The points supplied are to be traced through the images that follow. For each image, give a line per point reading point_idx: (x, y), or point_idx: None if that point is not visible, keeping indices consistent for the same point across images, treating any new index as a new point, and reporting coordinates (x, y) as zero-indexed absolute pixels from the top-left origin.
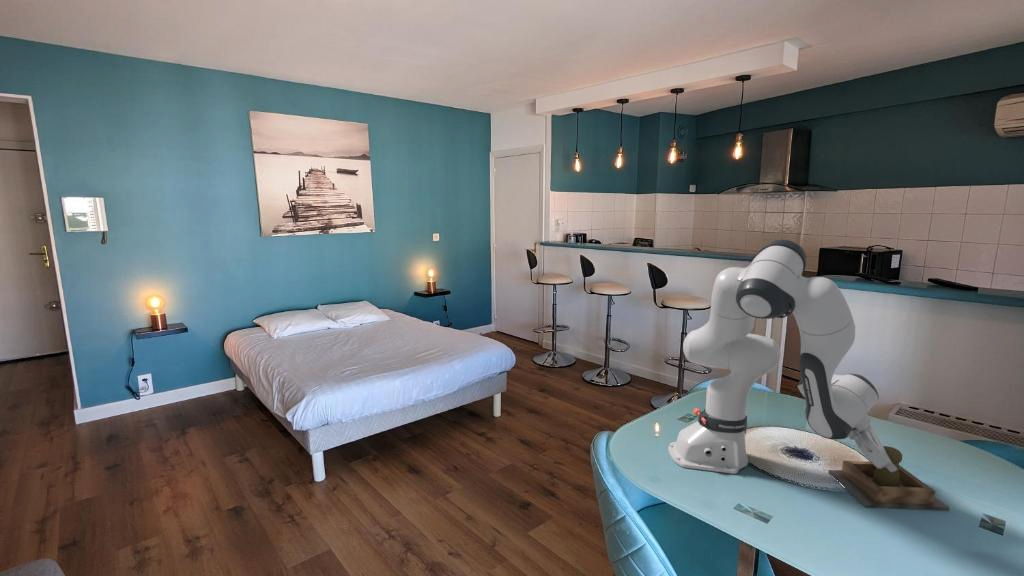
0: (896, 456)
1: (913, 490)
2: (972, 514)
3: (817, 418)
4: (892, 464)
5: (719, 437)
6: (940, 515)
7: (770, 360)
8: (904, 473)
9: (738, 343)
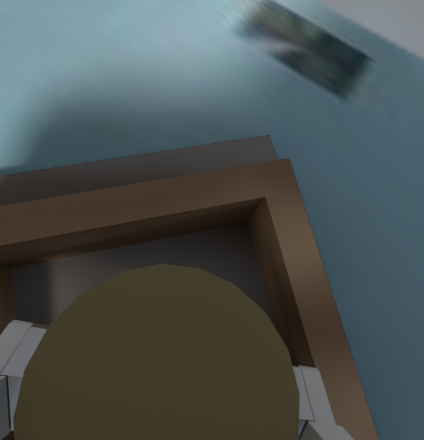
0: (290, 370)
1: (322, 276)
2: (260, 73)
3: None
4: (331, 423)
5: None
6: (315, 195)
7: None
8: (92, 229)
9: None
